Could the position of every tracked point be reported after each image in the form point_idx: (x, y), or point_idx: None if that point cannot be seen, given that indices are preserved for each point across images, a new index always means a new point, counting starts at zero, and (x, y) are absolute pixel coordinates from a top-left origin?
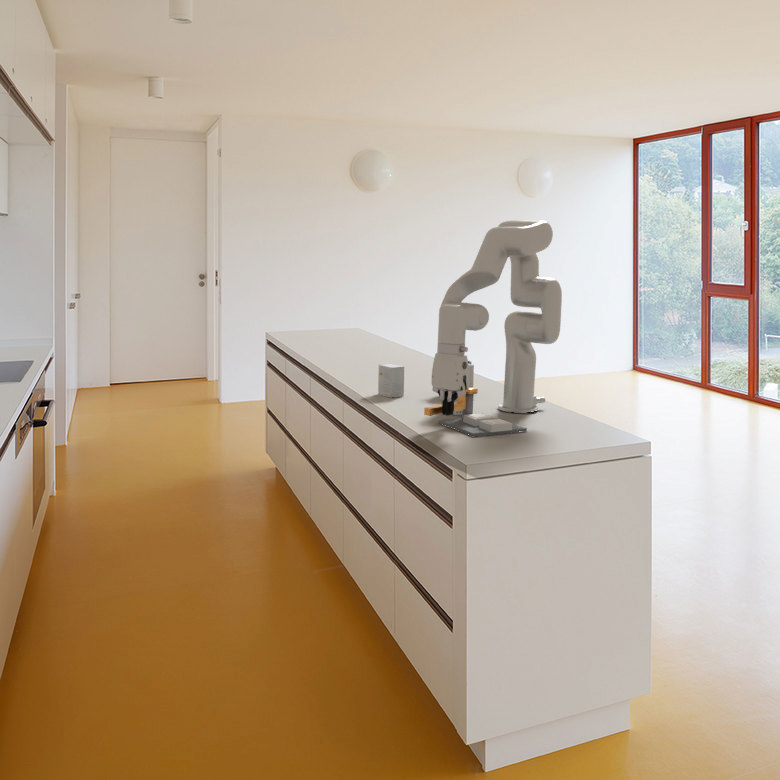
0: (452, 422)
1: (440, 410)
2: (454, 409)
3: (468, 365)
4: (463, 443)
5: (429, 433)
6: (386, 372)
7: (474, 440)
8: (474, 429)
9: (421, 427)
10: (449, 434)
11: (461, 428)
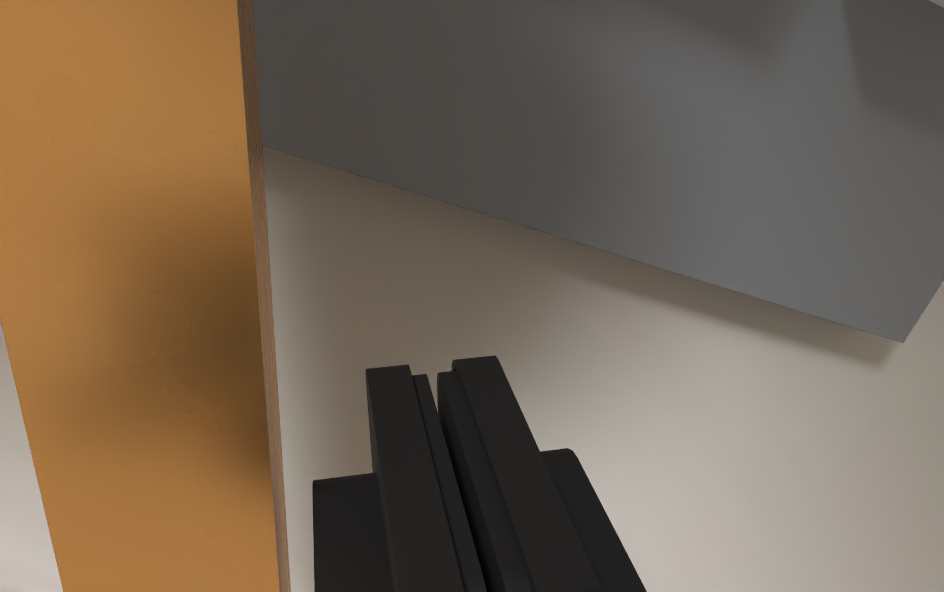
0: None
1: (287, 586)
2: (249, 21)
3: None
4: (875, 580)
5: None
6: None
7: (928, 421)
8: (824, 141)
9: (4, 465)
10: (568, 443)
11: (634, 246)
